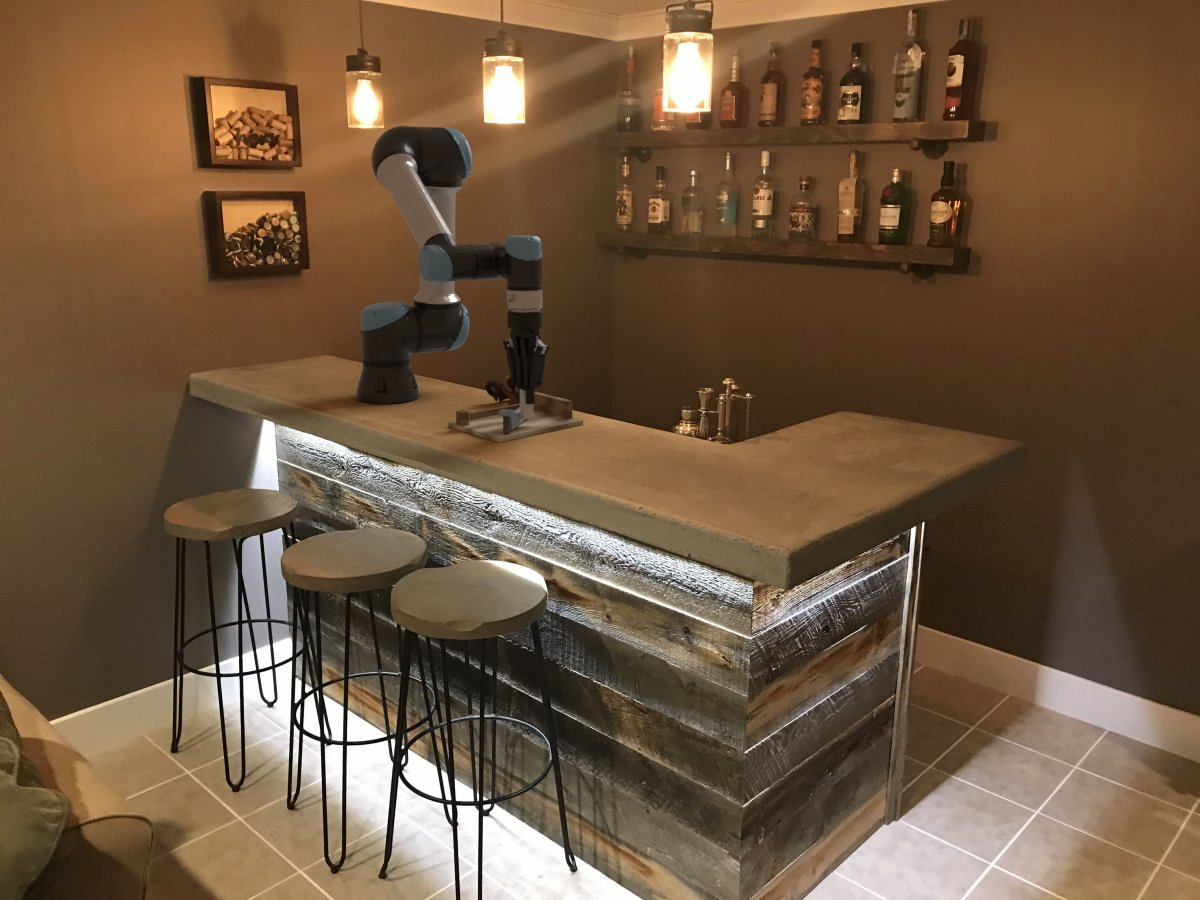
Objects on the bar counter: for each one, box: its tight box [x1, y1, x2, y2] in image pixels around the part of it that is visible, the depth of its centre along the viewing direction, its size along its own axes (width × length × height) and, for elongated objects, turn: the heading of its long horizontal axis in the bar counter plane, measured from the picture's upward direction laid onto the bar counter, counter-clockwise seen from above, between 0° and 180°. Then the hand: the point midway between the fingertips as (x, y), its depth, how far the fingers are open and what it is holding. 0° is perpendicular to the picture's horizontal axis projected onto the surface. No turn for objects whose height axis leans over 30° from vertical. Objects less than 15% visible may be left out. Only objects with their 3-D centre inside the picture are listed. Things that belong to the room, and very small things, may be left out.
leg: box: [498, 407, 525, 430], centre depth 211 cm, size 16×3×5 cm, turn 168°
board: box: [447, 391, 584, 443], centre depth 216 cm, size 18×24×5 cm
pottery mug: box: [484, 374, 520, 406], centre depth 236 cm, size 12×10×8 cm
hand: (526, 418), depth 212 cm, fingers closed
